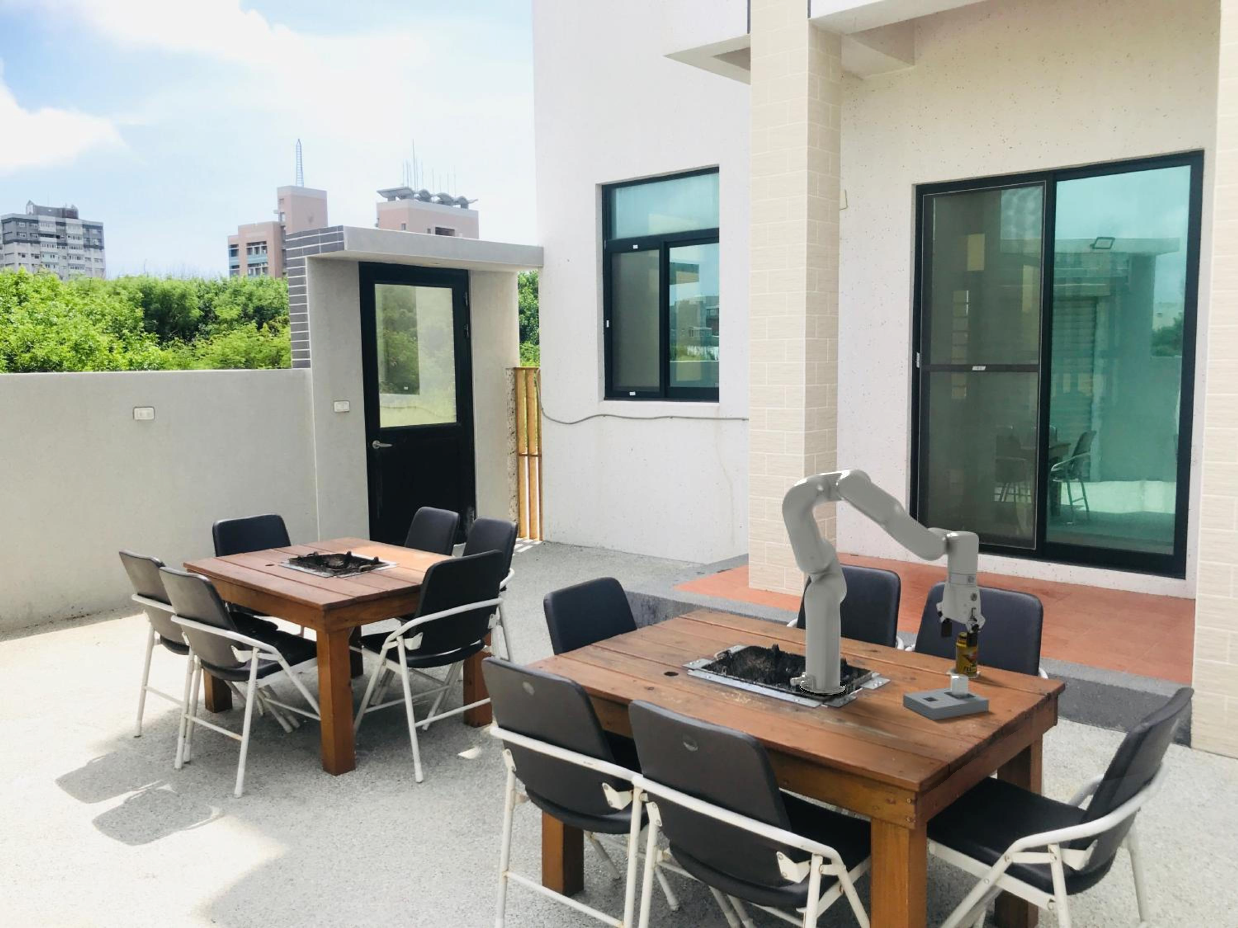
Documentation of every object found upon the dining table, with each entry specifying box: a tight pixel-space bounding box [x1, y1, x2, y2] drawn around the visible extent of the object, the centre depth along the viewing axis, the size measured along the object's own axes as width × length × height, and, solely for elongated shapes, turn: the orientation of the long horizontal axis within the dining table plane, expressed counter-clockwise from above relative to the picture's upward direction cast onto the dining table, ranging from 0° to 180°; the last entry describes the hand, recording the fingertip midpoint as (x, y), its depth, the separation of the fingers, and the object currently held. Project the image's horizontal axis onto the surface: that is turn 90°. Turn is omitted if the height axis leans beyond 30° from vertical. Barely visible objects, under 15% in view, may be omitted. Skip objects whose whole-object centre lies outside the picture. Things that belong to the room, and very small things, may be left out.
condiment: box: [945, 631, 981, 679], centre depth 285 cm, size 7×8×12 cm
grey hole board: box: [902, 686, 990, 721], centre depth 256 cm, size 18×12×3 cm, turn 112°
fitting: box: [950, 673, 969, 700], centre depth 258 cm, size 4×4×8 cm
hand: (958, 641), depth 257 cm, fingers open, 9 cm apart
